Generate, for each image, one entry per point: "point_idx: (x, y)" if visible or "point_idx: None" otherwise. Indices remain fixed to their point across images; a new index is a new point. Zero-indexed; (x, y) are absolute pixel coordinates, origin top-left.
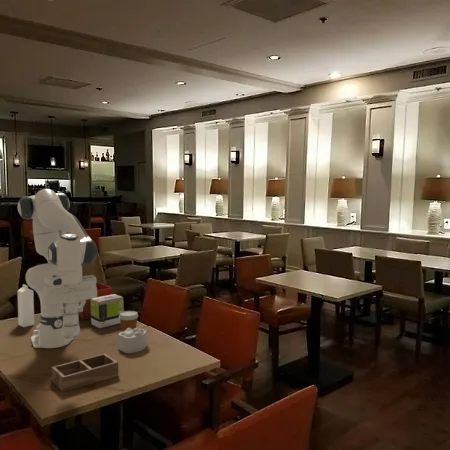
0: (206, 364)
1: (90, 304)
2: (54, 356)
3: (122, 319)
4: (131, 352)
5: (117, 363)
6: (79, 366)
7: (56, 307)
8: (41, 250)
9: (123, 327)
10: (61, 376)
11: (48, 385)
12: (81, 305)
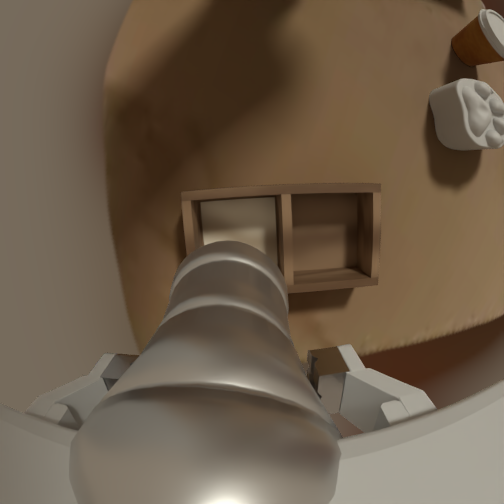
0: (494, 316)
1: None
2: (254, 21)
3: (484, 34)
4: (447, 147)
5: (374, 283)
6: (279, 196)
7: (56, 397)
8: None
9: (471, 41)
10: None
11: (175, 215)
12: (355, 413)
